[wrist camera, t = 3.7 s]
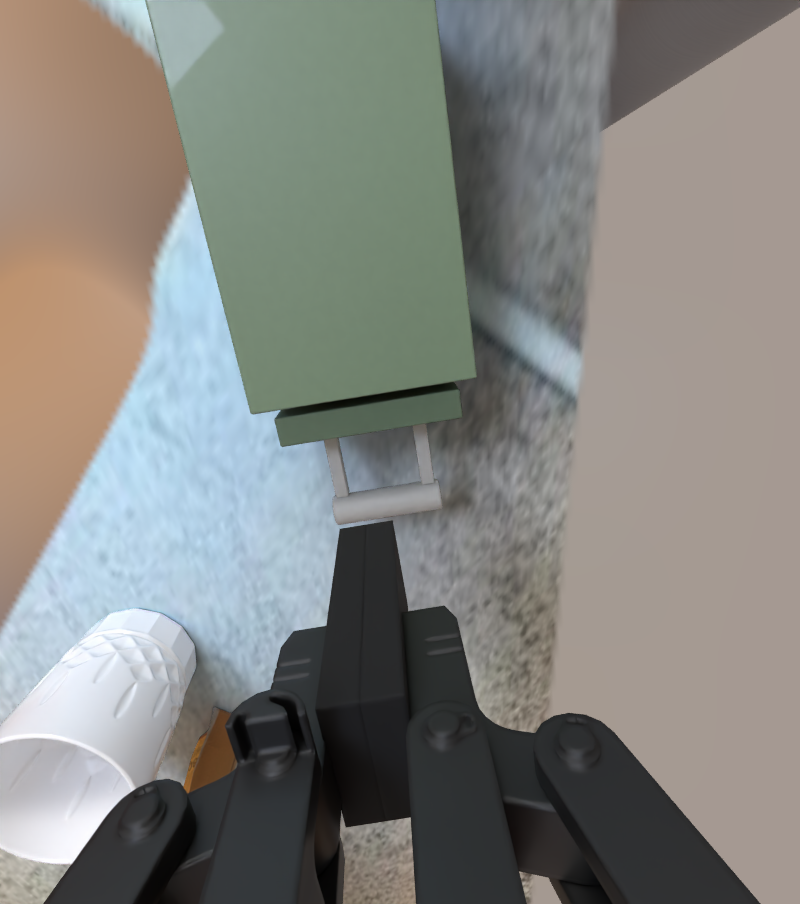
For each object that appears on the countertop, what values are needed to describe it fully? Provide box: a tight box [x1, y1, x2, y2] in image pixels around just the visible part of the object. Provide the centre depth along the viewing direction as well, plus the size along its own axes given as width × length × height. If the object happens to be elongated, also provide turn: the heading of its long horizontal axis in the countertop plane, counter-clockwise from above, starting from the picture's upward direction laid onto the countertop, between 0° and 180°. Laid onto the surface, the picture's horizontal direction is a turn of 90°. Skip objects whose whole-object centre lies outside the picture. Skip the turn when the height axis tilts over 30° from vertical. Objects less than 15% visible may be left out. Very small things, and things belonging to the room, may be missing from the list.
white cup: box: [0, 608, 197, 865], centre depth 29 cm, size 8×8×10 cm
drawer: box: [275, 382, 463, 525], centre depth 23 cm, size 18×7×7 cm, turn 9°
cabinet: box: [145, 0, 477, 414], centre depth 22 cm, size 15×9×9 cm, turn 9°
